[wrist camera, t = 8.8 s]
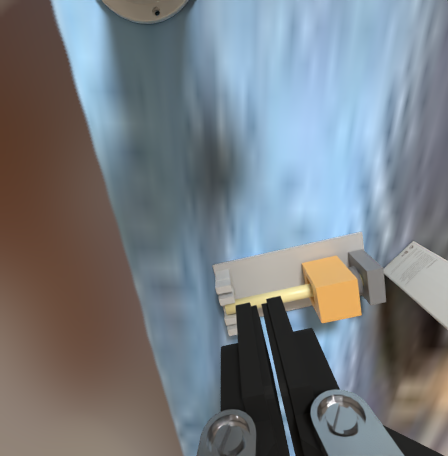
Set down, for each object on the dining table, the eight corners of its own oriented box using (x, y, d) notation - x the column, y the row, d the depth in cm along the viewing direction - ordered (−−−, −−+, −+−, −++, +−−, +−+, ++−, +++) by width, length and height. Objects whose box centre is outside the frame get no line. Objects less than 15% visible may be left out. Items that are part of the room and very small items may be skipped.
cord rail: (212, 264, 44) (211, 286, 38) (360, 231, 43) (383, 249, 37) (228, 321, 47) (229, 350, 41) (367, 292, 46) (389, 317, 40)
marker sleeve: (301, 263, 43) (315, 287, 37) (336, 255, 43) (357, 279, 36) (307, 294, 45) (321, 323, 38) (340, 287, 45) (361, 315, 38)
